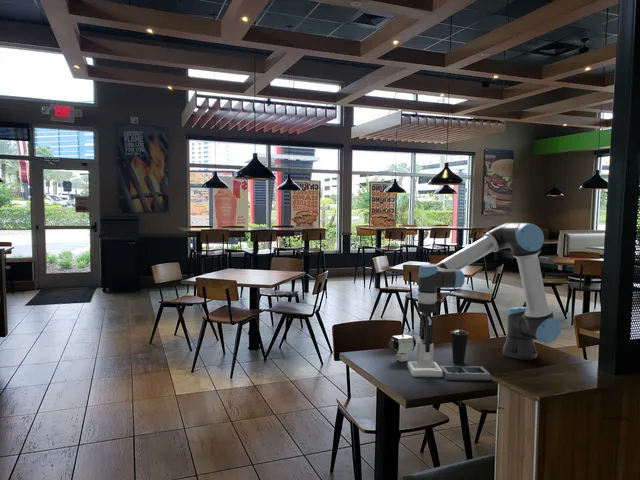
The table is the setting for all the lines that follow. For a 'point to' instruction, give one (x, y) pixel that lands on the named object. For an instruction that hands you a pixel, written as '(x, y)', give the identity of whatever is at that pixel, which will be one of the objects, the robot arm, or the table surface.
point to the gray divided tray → (465, 373)
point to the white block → (420, 354)
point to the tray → (424, 370)
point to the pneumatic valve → (402, 346)
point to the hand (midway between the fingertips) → (424, 357)
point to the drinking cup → (459, 344)
